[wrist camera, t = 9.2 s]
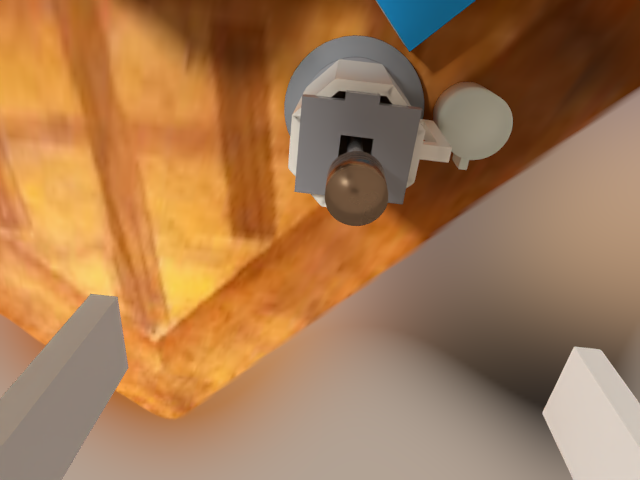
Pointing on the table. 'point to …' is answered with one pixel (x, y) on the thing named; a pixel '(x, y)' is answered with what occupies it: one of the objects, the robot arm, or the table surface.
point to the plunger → (356, 186)
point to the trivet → (353, 48)
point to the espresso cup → (472, 121)
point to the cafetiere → (360, 127)
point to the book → (420, 17)
